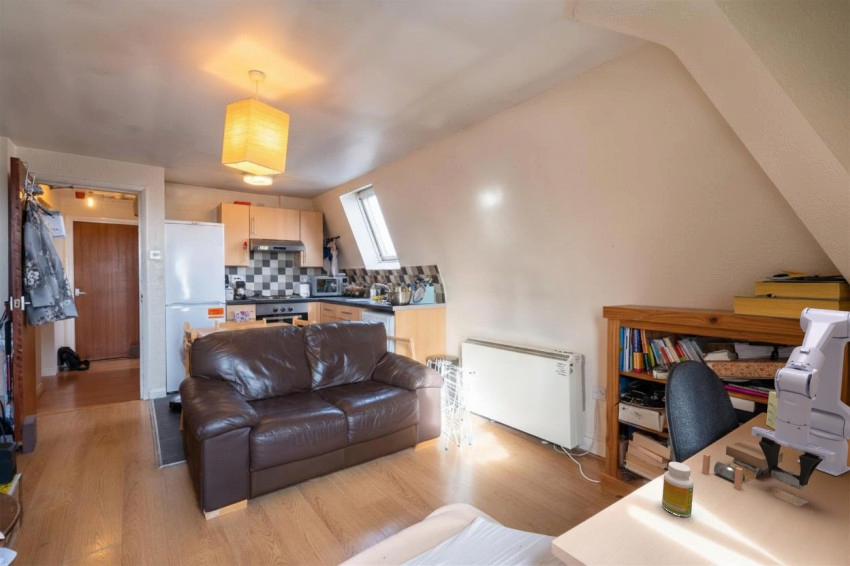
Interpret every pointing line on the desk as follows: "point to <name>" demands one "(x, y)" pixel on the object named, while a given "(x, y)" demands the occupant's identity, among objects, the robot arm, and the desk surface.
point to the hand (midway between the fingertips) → (787, 478)
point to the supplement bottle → (678, 489)
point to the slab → (749, 453)
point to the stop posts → (737, 472)
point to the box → (772, 410)
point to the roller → (786, 477)
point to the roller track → (750, 474)
